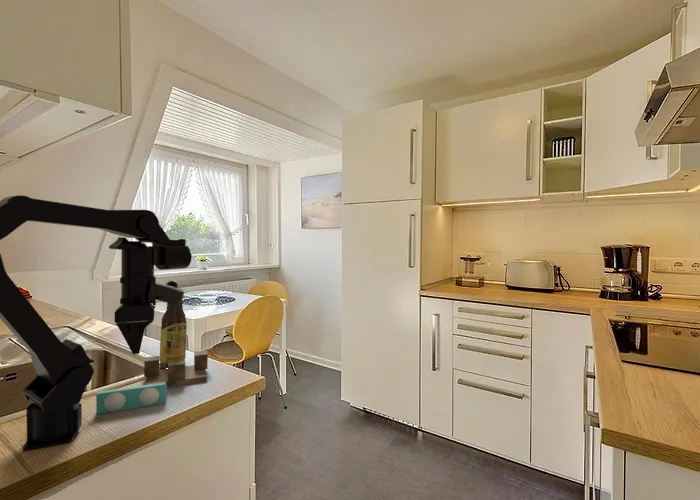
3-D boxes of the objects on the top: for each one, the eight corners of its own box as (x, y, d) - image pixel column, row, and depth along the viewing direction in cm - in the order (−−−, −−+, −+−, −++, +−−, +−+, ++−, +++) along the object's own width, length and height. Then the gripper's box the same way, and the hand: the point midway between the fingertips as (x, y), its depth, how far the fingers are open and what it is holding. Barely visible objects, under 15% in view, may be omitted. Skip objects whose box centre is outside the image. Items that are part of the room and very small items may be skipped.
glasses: (96, 414, 69) (96, 394, 69) (104, 397, 76) (104, 379, 76) (165, 403, 74) (165, 384, 74) (166, 388, 81) (166, 371, 81)
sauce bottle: (166, 372, 91) (166, 295, 90) (155, 366, 94) (155, 292, 94) (190, 365, 96) (191, 292, 95) (179, 360, 100) (179, 289, 99)
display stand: (142, 390, 80) (142, 369, 79) (145, 376, 88) (145, 356, 88) (208, 381, 86) (208, 360, 86) (206, 368, 94) (206, 349, 94)
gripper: (183, 275, 68) (183, 355, 68) (179, 267, 84) (179, 331, 85) (114, 276, 63) (114, 364, 63) (124, 267, 79) (124, 336, 80)
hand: (137, 347), depth 73 cm, fingers open, 9 cm apart
